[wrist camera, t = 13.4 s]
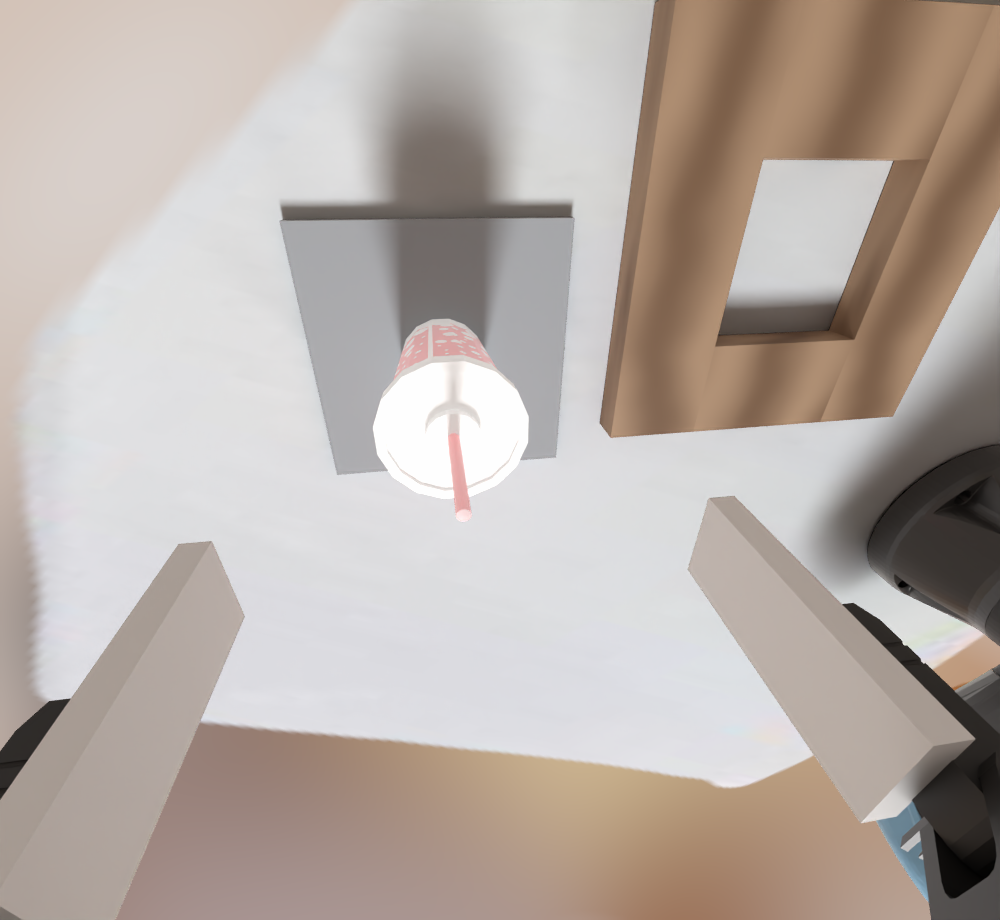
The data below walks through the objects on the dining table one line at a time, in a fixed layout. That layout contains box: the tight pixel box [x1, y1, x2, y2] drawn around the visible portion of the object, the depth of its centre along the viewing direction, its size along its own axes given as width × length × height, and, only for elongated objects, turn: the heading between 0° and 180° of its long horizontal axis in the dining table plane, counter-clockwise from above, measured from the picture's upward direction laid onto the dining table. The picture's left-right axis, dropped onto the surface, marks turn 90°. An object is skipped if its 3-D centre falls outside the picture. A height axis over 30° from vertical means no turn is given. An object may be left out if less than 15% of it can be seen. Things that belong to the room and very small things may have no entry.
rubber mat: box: [280, 217, 574, 475], centre depth 26 cm, size 14×14×1 cm
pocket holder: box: [600, 0, 1000, 438], centre depth 25 cm, size 20×20×2 cm
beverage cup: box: [373, 319, 529, 522], centre depth 19 cm, size 6×6×14 cm
